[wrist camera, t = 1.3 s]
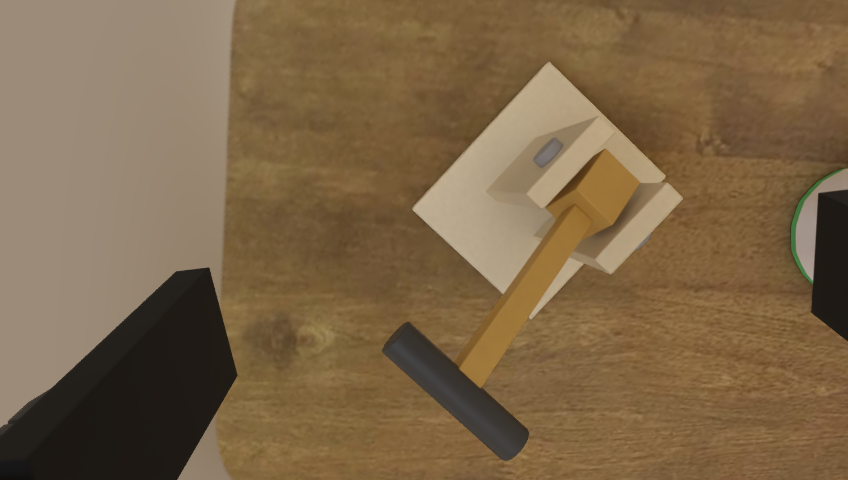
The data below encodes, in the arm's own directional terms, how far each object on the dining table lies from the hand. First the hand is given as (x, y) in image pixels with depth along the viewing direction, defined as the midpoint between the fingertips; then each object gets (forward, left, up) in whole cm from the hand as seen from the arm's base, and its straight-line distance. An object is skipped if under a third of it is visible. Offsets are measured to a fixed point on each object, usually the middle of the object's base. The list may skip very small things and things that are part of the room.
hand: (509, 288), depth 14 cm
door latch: (+1, +6, -26) cm, 27 cm away
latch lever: (+3, +2, -13) cm, 13 cm away
